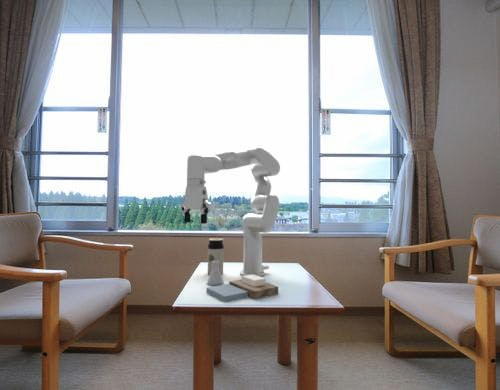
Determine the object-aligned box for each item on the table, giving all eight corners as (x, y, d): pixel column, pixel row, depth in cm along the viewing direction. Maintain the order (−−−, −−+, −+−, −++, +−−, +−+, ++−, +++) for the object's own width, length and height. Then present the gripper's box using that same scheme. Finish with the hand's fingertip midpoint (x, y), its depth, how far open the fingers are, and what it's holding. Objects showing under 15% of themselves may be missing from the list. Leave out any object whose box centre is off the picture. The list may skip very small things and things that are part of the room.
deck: (251, 284, 140) (251, 277, 140) (278, 294, 126) (278, 286, 126) (229, 288, 133) (229, 281, 133) (254, 299, 119) (254, 291, 119)
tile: (252, 279, 136) (252, 274, 136) (265, 284, 129) (265, 278, 129) (241, 281, 133) (241, 276, 133) (254, 286, 126) (254, 280, 126)
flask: (214, 287, 135) (215, 264, 136) (203, 284, 140) (204, 261, 140) (226, 283, 141) (226, 261, 141) (215, 281, 146) (216, 259, 146)
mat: (228, 288, 133) (228, 283, 133) (247, 296, 122) (248, 291, 122) (206, 292, 127) (206, 287, 127) (224, 301, 115) (224, 296, 115)
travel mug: (217, 271, 166) (217, 237, 166) (226, 274, 160) (226, 239, 160) (204, 273, 160) (205, 238, 161) (213, 276, 155) (214, 240, 155)
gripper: (216, 183, 133) (216, 223, 132) (187, 184, 142) (187, 221, 142) (204, 182, 126) (204, 224, 126) (175, 183, 136) (174, 222, 136)
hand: (195, 222), depth 134 cm, fingers open, 9 cm apart
